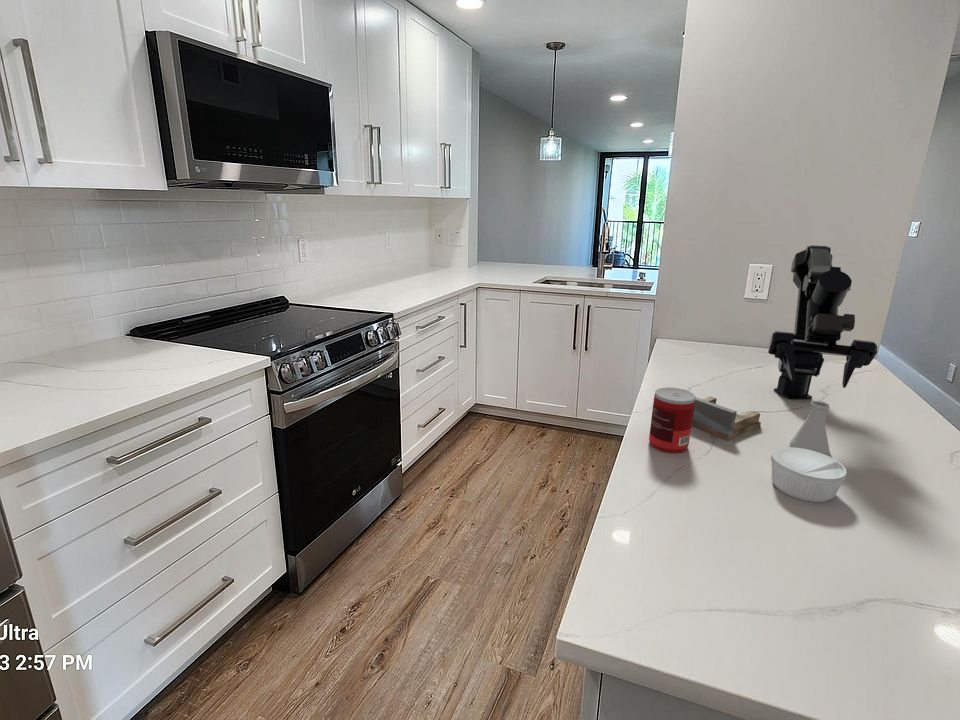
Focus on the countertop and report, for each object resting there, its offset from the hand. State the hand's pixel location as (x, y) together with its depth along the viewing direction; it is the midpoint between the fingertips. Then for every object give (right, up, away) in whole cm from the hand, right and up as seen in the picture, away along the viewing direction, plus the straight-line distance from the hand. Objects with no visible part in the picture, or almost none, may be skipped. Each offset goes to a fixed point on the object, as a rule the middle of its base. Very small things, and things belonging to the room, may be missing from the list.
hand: (818, 383), depth 109 cm
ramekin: (-13, -18, -16) cm, 28 cm away
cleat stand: (-16, -9, +10) cm, 21 cm away
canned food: (-31, -13, -1) cm, 34 cm away
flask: (-3, -14, -2) cm, 14 cm away
